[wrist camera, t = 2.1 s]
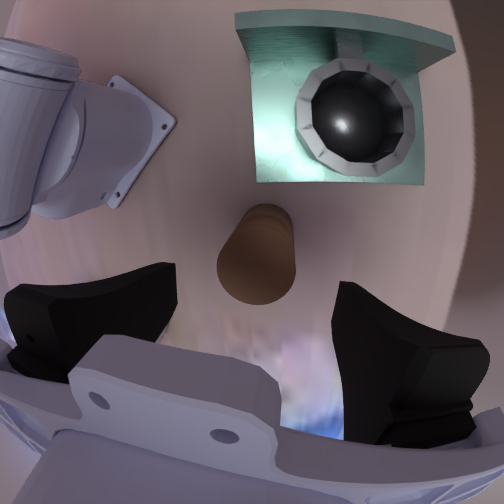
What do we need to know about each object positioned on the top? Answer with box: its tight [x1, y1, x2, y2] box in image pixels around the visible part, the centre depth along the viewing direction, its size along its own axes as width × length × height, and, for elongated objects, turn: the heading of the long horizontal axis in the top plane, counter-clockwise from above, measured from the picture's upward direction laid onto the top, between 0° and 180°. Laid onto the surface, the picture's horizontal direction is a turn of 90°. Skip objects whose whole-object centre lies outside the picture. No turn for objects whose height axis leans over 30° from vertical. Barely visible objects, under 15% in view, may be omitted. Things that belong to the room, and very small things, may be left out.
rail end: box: [217, 204, 296, 305], centre depth 18 cm, size 4×4×8 cm
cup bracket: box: [235, 9, 456, 185], centre depth 15 cm, size 10×13×7 cm
